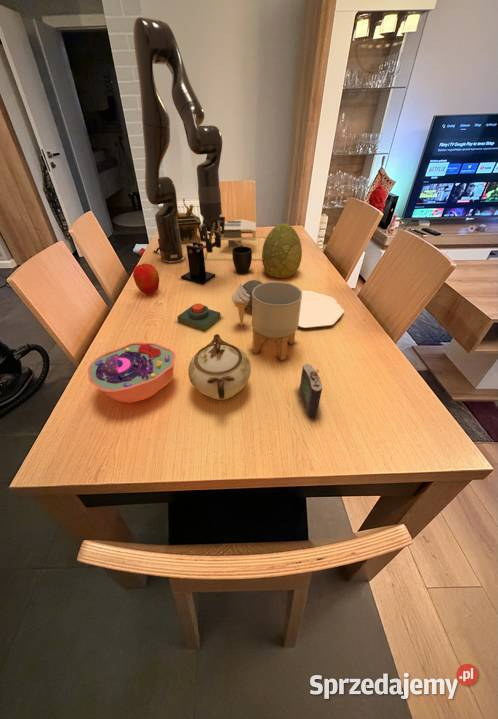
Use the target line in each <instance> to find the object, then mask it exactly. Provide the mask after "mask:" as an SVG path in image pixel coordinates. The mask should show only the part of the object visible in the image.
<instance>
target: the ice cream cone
mask: <svg viewBox="0 0 498 719" xmlns="http://www.w3.org/2000/svg"><path fill="white" fill-rule="evenodd" d="M246 292H247V291H246V290H245V289H244V288H243V284H242V283H239V285H238V287H237V289H236V290H235V291H234V293H233V294H232V296H231V299H232V302H233V304H234V306H235V307H236V308H237V311H238V318H239V324H240V326H241V327H242V326H243V325H244V319H245V309H246V306H247V305H248V302H249V300H250V299H249V297H250V295H249V294H247V293H246Z"/></svg>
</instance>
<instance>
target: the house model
mask: <svg viewBox="0 0 498 719" xmlns="http://www.w3.org/2000/svg"><path fill="white" fill-rule="evenodd" d="M220 228H221V230H222V227H220ZM256 230H257V222H255V221H251V220H246V219H243V218H242V219H241V218H239V219H233V220H227V221H225V226H224V234H222V236H221V247H220V248H217V247H213V248H212V250H213V252H211V253H209V252H207V254H206V258H205V260H233V257H232V249H233V248H235V247H239V246H240V245H243V246H245V247H250V248H251V249H252V260H262V250H263V245H264V242H265V240H266V238H267V237H257V231H256ZM242 234H252V237H242ZM211 242H212V243H213V242H215V237H212V241H211Z"/></svg>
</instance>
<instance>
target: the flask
mask: <svg viewBox="0 0 498 719" xmlns="http://www.w3.org/2000/svg"><path fill="white" fill-rule="evenodd" d="M318 373H320V370H319V369H318V368H317V369H315V368H314V367H313V365H311V364H309V363H305V364H303V365H302V370H301V377H300V383H299V389H298V394H299V397H300V398H301V403H302V405H304V407H303V408H304V409H305V413H306V416H307V417H309V418H310V419H315V418H317V417H318V411H319V406H320V401H321V397H322V396H321V395H322V393H323V392H322V391H323V385H322V381H321V378H320V375H319V374H318Z"/></svg>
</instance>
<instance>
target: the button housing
mask: <svg viewBox="0 0 498 719" xmlns="http://www.w3.org/2000/svg"><path fill="white" fill-rule="evenodd" d="M192 306H193V305H191V306H189V307H188V308H187V309H186V310H184V311H183V312H181V313H180V314H179V315H177V322H178V323H180V324H183V325H185V326H188V327H191V328H194V329H198V330H200V331H203V332H206V331H208V330H209V329H210V328H211V327H212V326H214V325H215V324H216V323H217V322H218V321H219V320H220V319H221V318H222V317H221V312H220V311H217V310H214V309H210V308H209V307H208V306H207V305H204V304H203V306H204V311H203V312H202V313H194V312H193V308H192Z"/></svg>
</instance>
